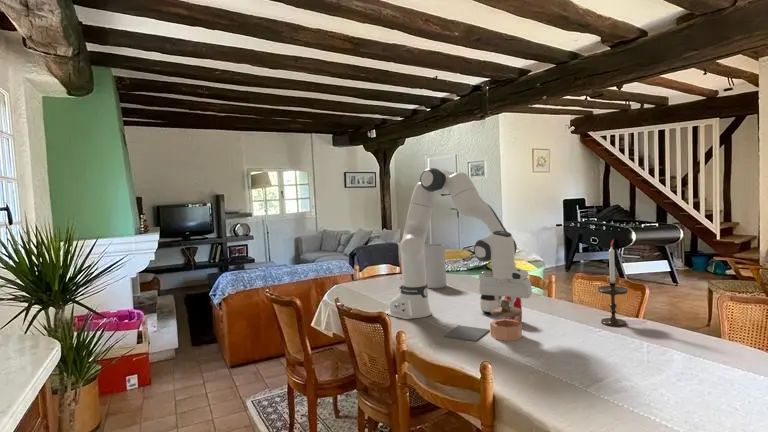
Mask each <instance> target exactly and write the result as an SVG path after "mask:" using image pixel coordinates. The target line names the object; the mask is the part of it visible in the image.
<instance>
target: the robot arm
mask: <svg viewBox="0 0 768 432" xmlns="http://www.w3.org/2000/svg"><path fill="white" fill-rule="evenodd" d="M439 195H440V196H442V197H445V196H450V197H451V199H452V202H453V205H454V207H455V208H456V210H457V211H458V213H460V214H461V215H462V216H466V217H469V218H470V217H471V218H474V219H477V220H480V221H481V222H483V223H484V224H485V225H486V227H487V229H488V230H489V232H490V233H491V234H489V236H487V237H484V238H482V239H478V240H477V241H476V242H475V244H474V246H473V248H474V249H473V253H474V255H475V258H476V260H478V261H479V262H481V263H490V262H491V268H492V270H491V271H481V272H479V275H478V276H479V277H478V279H479V288H478V289H479V290H478V291H479V294H481V295H493V296H494V297H495V300H496V301H497V303H498V307H502V302H501V301H500V299H499V297H500V296H502V297H504V298H505V297H511V300H512V302H511V303H509V308H513V307H514V302H515V300H516V297H517V298H521V299H529V298H531V296H532V295H533V289H532V283H531V280H530V278H528V276H529V272H528V271H527V270H525V269H522V268H519V267H517V266H516V262H515V256H516V253H517V251H518V250H517V248H518V247H517V243H516V241H515V239H514V238H513V235H512V232H509V231H507V229H506V228H505V226H504V225H503V223H502V222H501V219H500V218H499V217H498V215H497V213H496V212H495V211H494V209H493V207H491V205H489V204H488V203H487V202H485V200H484V199H483V197H481V196H480V194H479V192H478V190H477V188H476V186H475V184H474V183H473V181H472V179H471V178H470V176H469V175H468V173H466V172H464V171H457V172H454V171H453V172H452V171H449V170H447V169H441V168H439V169H438V168H436V167H429V168H425V169H424V170H423V171H422V173H421V174H420V177H419V181H418V182H417V183H416V185H415V186H414V189H413V192H412V195H411V198H410V201H409V207H408V210H407V214H406V219H405V225H404V229H403V235H402V238H401V241H400V244H399V245H400V246H399V248H400V249H399V251H400V260H401V261H400V262H401V270H402V283H403V284H402V285H400V286H398V290H400V292H399V293H397V294H396V296H394V297H393V298H392V299H391V301H390V303H389V308H388V309H386V310H385V313H386V314H388V315H387V316H391V317H396V318H399V319H404V320H411V319H421V318H426V317H428V316H430V315H432V311H431V307H430V304H429V298H428V297H429V288H428V286H427V284H426V267H425V253H424V245H426V244H425V243H426V240H427V235H428V231H429V227H430V223H431V219H432V214H433V209H434V206H435V201H436V198H437V197H438V196H439ZM385 313H384V314H385ZM386 314H385V315H386Z"/></svg>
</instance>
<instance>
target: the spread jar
mask: <svg viewBox="0 0 768 432" xmlns="http://www.w3.org/2000/svg"><path fill="white" fill-rule="evenodd" d="M479 298H480V301H479V305H480V310H481V312H482V313H484V314H485V315H490V316H493V315H492V314H491V313H490V310H491V309H492V308H495V307H498V303H497V301H496V300H495V297H494V296H493V295H482V294H481V296H480V297H479ZM499 299H500V301H501V302H502V300H503V296H500V297H499Z"/></svg>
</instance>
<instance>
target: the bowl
mask: <svg viewBox="0 0 768 432" xmlns="http://www.w3.org/2000/svg"><path fill="white" fill-rule="evenodd" d="M489 326H490V336H491V337H492V338H493V339H495V340H496V339H497V340H499V341H503V340H504V342H510V341H511V340H512V341H517V340H519V339H521V337H523V330H522V328H523V327H522V322H518V321H516V320H510V319H505V318H501V319H494V320H493V321H492V322H490V324H489ZM512 341H511V342H512Z"/></svg>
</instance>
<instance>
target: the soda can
mask: <svg viewBox="0 0 768 432" xmlns="http://www.w3.org/2000/svg"><path fill="white" fill-rule="evenodd" d="M503 300H509V303H511V302H512V300H511V297H505V296H504V299H503ZM514 307H516V308H519V309H521V310H522V311H523V308H522V307H523V306H522V298H517V297H516V300H515V302H514ZM522 314H523V313H522ZM522 314H521V315H519V316H515V317H504V319H510V320H516V321H518V322H520V323H522V319H523V315H522Z"/></svg>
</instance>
